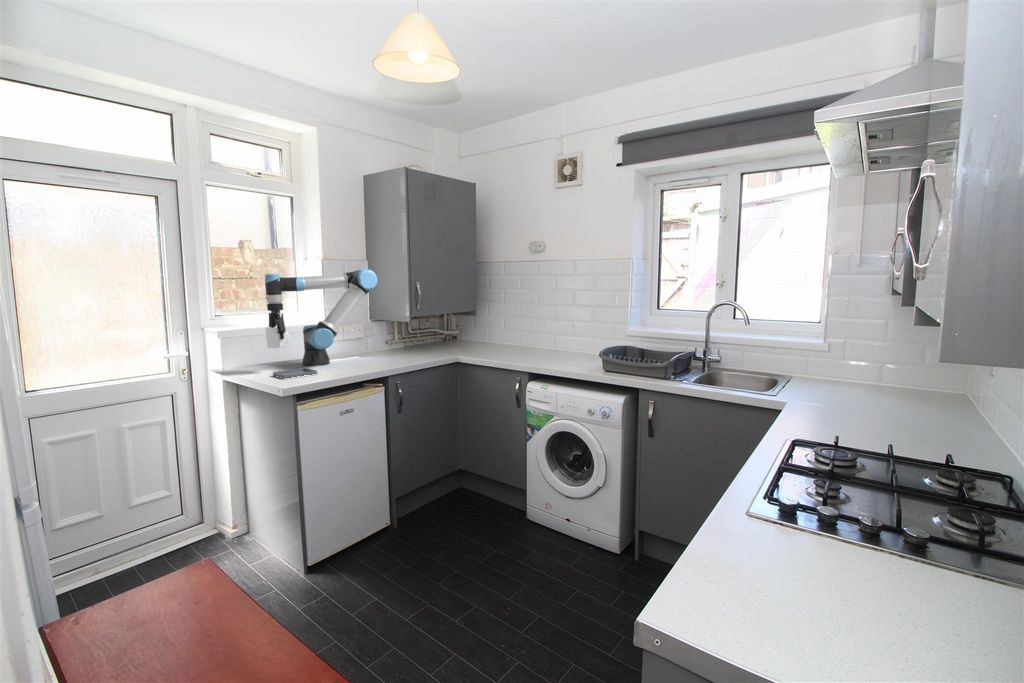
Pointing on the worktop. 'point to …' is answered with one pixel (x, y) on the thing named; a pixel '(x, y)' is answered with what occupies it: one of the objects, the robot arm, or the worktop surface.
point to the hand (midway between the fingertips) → (278, 344)
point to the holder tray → (294, 372)
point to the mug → (273, 338)
